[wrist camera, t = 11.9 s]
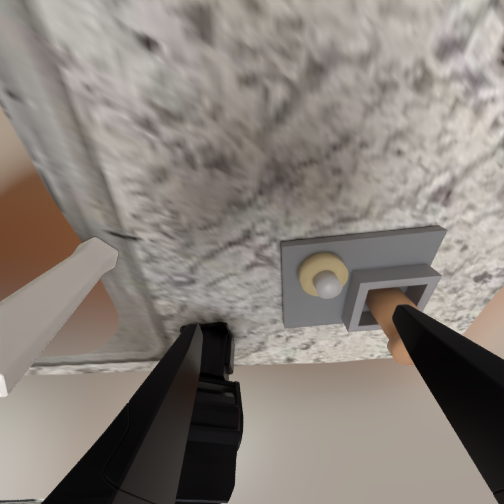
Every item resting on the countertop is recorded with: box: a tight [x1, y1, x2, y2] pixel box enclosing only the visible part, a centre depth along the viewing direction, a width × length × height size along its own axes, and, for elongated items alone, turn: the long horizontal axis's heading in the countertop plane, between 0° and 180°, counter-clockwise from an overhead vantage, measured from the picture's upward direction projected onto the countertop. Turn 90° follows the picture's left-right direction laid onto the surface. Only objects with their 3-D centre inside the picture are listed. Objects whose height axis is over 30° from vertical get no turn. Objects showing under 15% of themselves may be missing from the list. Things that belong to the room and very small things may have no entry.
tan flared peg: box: [365, 287, 420, 365], centre depth 21 cm, size 5×5×7 cm
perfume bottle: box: [0, 237, 118, 397], centre depth 15 cm, size 5×4×15 cm
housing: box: [281, 226, 447, 332], centre depth 22 cm, size 16×13×4 cm
